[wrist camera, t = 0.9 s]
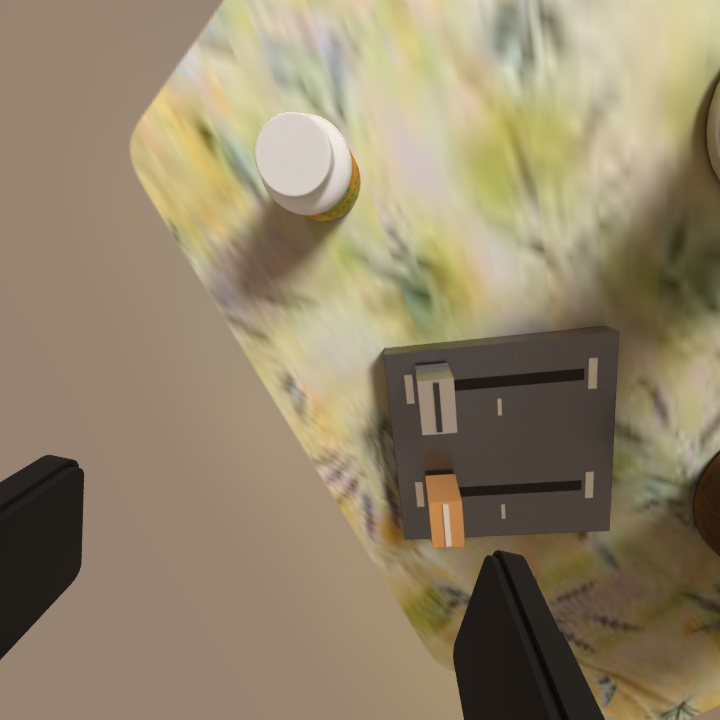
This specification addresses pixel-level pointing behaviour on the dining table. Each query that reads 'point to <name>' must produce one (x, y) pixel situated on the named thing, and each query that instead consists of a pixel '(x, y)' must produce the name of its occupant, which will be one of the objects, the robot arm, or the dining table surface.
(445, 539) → the orange fader
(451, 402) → the block
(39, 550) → the robot arm
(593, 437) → the console
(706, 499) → the wooden container
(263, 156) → the supplement bottle
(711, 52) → the dining table surface
